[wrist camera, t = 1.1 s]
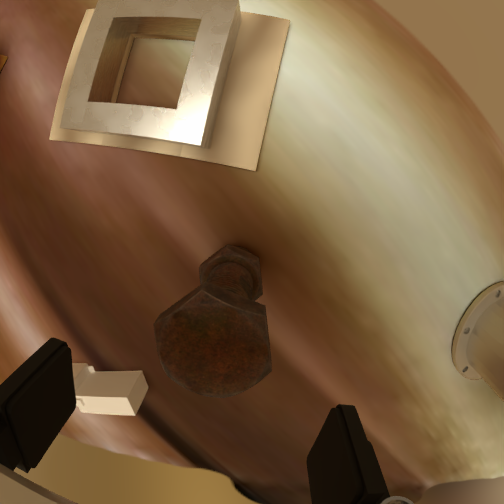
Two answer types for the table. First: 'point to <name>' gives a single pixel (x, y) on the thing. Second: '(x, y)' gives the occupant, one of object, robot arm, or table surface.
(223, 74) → the steel socket collar
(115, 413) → the beige stepped block
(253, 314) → the bolt
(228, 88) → the beech board
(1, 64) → the candy box
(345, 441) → the robot arm
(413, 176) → the table surface
